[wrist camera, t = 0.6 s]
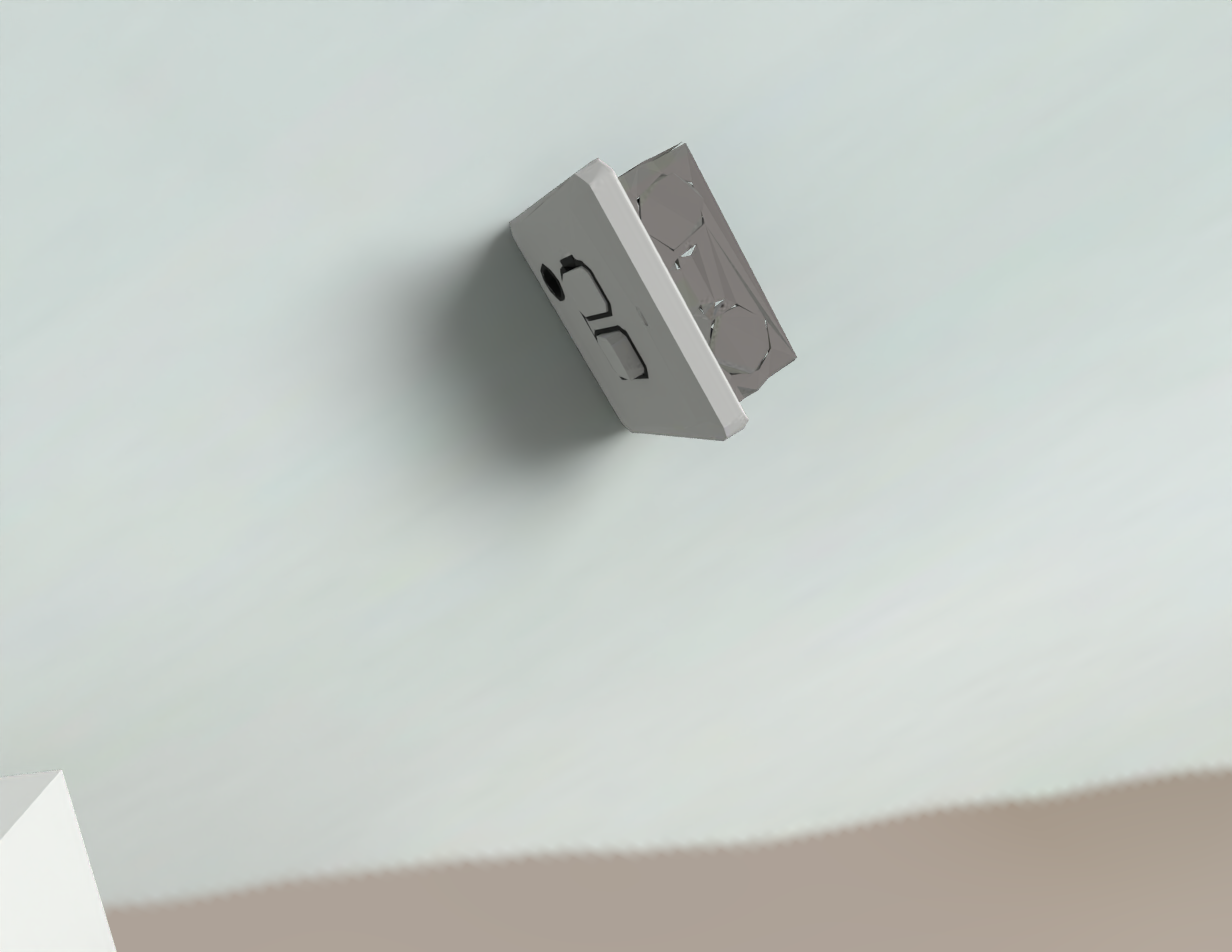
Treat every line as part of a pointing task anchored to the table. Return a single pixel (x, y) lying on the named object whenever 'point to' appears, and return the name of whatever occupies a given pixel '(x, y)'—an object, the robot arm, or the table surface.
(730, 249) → the electrical switch
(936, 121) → the table surface
